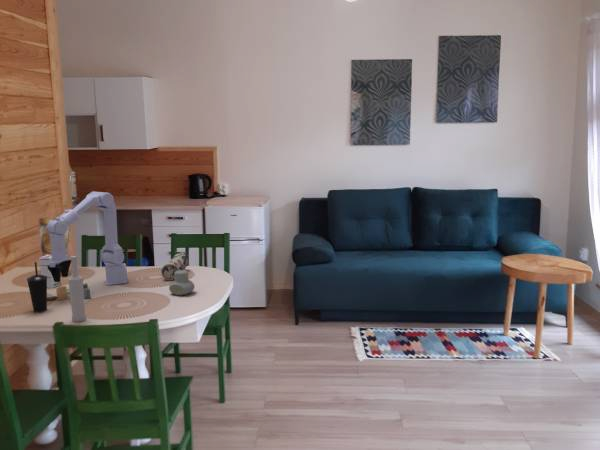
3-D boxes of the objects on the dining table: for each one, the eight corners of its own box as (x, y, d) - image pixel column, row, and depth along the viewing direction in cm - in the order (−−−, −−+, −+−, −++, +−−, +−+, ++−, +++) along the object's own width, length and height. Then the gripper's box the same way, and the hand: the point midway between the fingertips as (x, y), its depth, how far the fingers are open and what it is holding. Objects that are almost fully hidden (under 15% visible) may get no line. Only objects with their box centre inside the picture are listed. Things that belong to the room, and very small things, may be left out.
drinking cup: (34, 307, 230) (29, 260, 226) (53, 306, 231) (48, 259, 227) (26, 313, 223) (21, 265, 219) (46, 313, 223) (41, 264, 220)
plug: (67, 296, 244) (66, 285, 243) (67, 299, 240) (66, 288, 239) (44, 300, 240) (43, 288, 239) (44, 302, 236) (43, 291, 235)
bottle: (81, 316, 219) (75, 254, 215) (89, 318, 216) (83, 256, 212) (69, 320, 215) (63, 257, 210) (77, 322, 212) (71, 258, 207)
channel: (87, 291, 251) (86, 283, 250) (90, 298, 241) (89, 289, 240) (73, 293, 249) (72, 284, 248) (75, 300, 238) (75, 291, 237)
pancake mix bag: (48, 270, 288) (43, 216, 283) (75, 274, 280) (71, 219, 275) (37, 273, 282) (32, 219, 277) (65, 277, 274) (60, 221, 269)
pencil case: (172, 269, 287) (171, 251, 285) (188, 269, 287) (188, 251, 285) (160, 282, 266) (159, 262, 264) (178, 282, 265) (177, 262, 264)
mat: (72, 288, 255) (72, 288, 255) (74, 293, 249) (74, 292, 249) (56, 291, 252) (56, 290, 252) (57, 295, 246) (57, 294, 246)
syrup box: (53, 288, 257) (50, 257, 254) (41, 287, 258) (38, 257, 255) (60, 284, 262) (58, 254, 260) (49, 284, 263) (46, 254, 261)
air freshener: (166, 295, 245) (165, 273, 243) (176, 289, 253) (175, 268, 251) (187, 297, 242) (186, 275, 240) (197, 292, 249) (196, 270, 247)
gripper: (60, 252, 230) (63, 284, 232) (74, 244, 244) (77, 274, 247) (43, 252, 230) (46, 284, 233) (58, 244, 244) (61, 274, 247)
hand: (61, 279), depth 240 cm, fingers open, 7 cm apart
